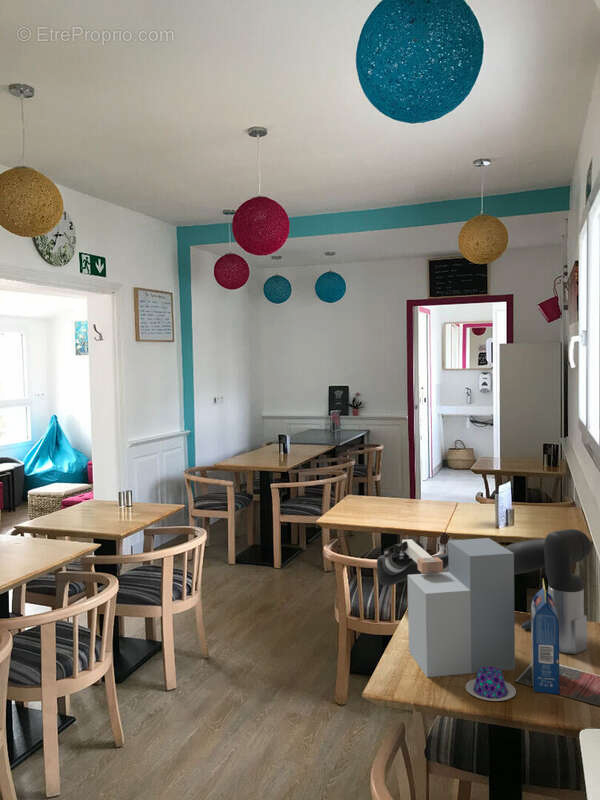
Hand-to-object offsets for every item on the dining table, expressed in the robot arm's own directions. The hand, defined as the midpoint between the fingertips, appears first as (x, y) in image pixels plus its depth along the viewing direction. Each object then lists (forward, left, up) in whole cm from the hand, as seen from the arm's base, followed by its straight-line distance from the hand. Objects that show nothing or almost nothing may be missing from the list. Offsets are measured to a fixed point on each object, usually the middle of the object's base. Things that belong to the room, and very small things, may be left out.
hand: (412, 544), depth 205 cm
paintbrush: (-26, -33, -27) cm, 50 cm away
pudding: (-39, +14, -27) cm, 49 cm away
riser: (-23, +6, -26) cm, 35 cm away
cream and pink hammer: (-6, +3, -3) cm, 7 cm away
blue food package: (-45, 0, -27) cm, 52 cm away
